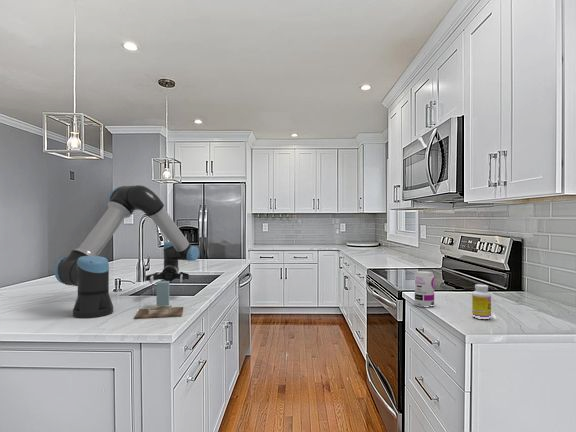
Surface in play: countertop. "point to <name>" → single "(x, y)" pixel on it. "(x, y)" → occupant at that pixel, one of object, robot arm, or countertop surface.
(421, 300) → the supplement can
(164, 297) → the blue-grey tall block
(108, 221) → the robot arm
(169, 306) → the board
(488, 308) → the supplement bottle
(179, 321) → the countertop surface
